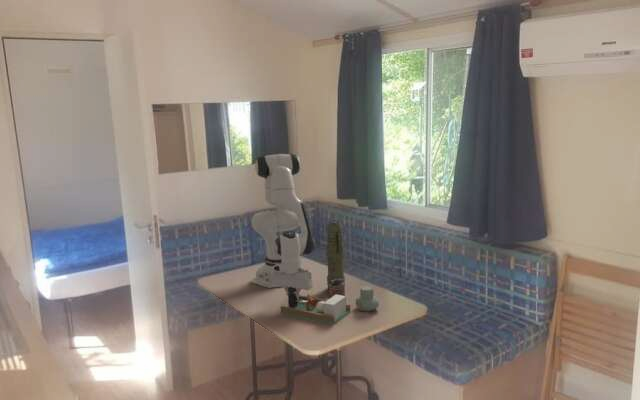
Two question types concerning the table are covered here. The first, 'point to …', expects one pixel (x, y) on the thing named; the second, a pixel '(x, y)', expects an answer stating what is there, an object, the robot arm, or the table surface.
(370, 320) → the table surface
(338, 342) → the table surface
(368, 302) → the air freshener
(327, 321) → the pitch
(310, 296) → the rod
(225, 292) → the table surface
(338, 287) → the lighter
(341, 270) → the thermos
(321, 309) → the ball
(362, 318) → the table surface
